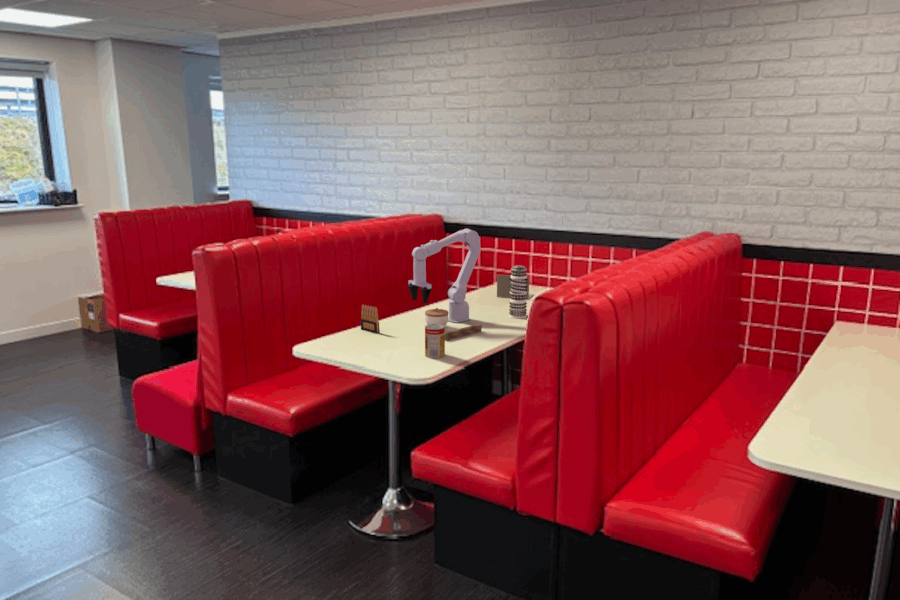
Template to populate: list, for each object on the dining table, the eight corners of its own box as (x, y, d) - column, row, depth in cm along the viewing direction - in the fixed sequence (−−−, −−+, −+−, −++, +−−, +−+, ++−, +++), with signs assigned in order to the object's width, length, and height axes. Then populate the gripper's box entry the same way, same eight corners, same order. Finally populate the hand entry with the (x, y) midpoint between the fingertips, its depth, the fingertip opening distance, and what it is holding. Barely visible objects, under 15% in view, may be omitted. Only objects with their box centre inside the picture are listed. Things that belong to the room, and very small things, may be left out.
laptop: (533, 295, 385) (534, 272, 382) (528, 300, 374) (529, 276, 371) (502, 293, 391) (503, 270, 388) (496, 297, 379) (497, 274, 377)
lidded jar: (452, 327, 318) (452, 307, 316) (440, 332, 309) (440, 312, 307) (433, 323, 323) (433, 304, 321) (420, 329, 314) (420, 309, 312)
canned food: (444, 352, 279) (444, 323, 277) (445, 358, 272) (445, 329, 269) (425, 352, 279) (424, 323, 276) (425, 358, 271) (424, 329, 269)
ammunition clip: (379, 332, 308) (379, 306, 305) (376, 333, 306) (376, 307, 304) (363, 328, 315) (363, 303, 312) (360, 329, 313) (360, 303, 311)
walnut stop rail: (478, 330, 312) (478, 324, 311) (481, 331, 310) (481, 325, 310) (441, 339, 297) (441, 332, 297) (445, 340, 296) (445, 333, 295)
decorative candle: (517, 319, 331) (518, 268, 326) (504, 315, 339) (505, 265, 333) (531, 316, 337) (532, 266, 331) (518, 313, 344) (519, 263, 338)
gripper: (403, 272, 322) (403, 300, 325) (423, 276, 311) (423, 305, 314) (414, 270, 326) (415, 298, 329) (434, 274, 316) (435, 303, 319)
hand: (419, 301), depth 322 cm, fingers open, 7 cm apart
